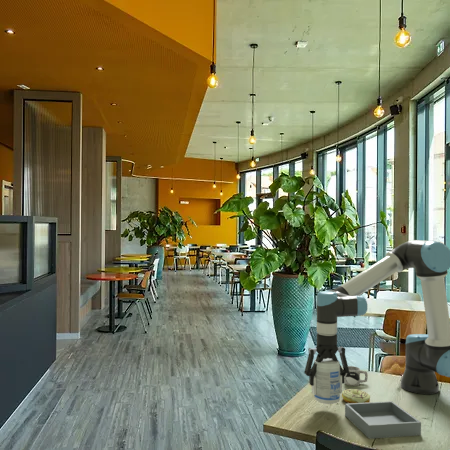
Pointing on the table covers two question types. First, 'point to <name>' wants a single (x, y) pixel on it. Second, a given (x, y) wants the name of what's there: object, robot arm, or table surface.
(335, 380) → the supplement tub
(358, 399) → the decorated donut
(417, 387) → the robot arm
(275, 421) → the table surface
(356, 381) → the mug
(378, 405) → the bin
